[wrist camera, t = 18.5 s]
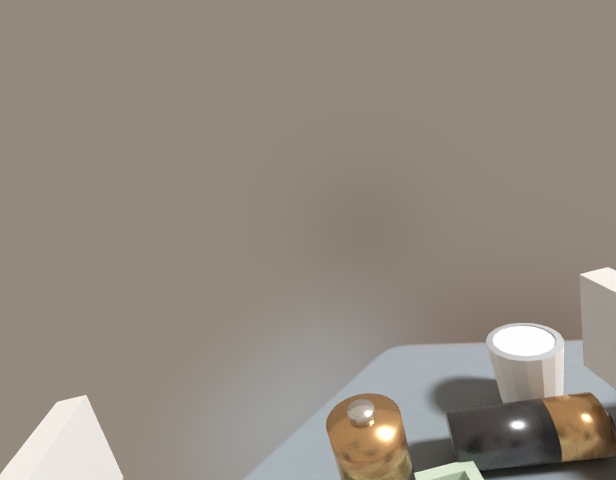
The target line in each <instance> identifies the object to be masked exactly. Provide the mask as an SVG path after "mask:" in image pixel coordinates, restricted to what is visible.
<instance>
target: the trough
mask: <svg viewBox="0 0 616 480" xmlns="http://www.w3.org/2000/svg"><path fill="white" fill-rule="evenodd" d="M414 474H415V479H416V480H484V479H483V477H482V475H481V474H480V472H479V470H478V469H477V467H476V465H475V463H474V462H473V461H469V462H460V463H459V461H458V462H455V463H451V464H447V465H443V466H439V467H435V468H431V469H428V470H424V471H420V472H416V473H414Z"/></svg>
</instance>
